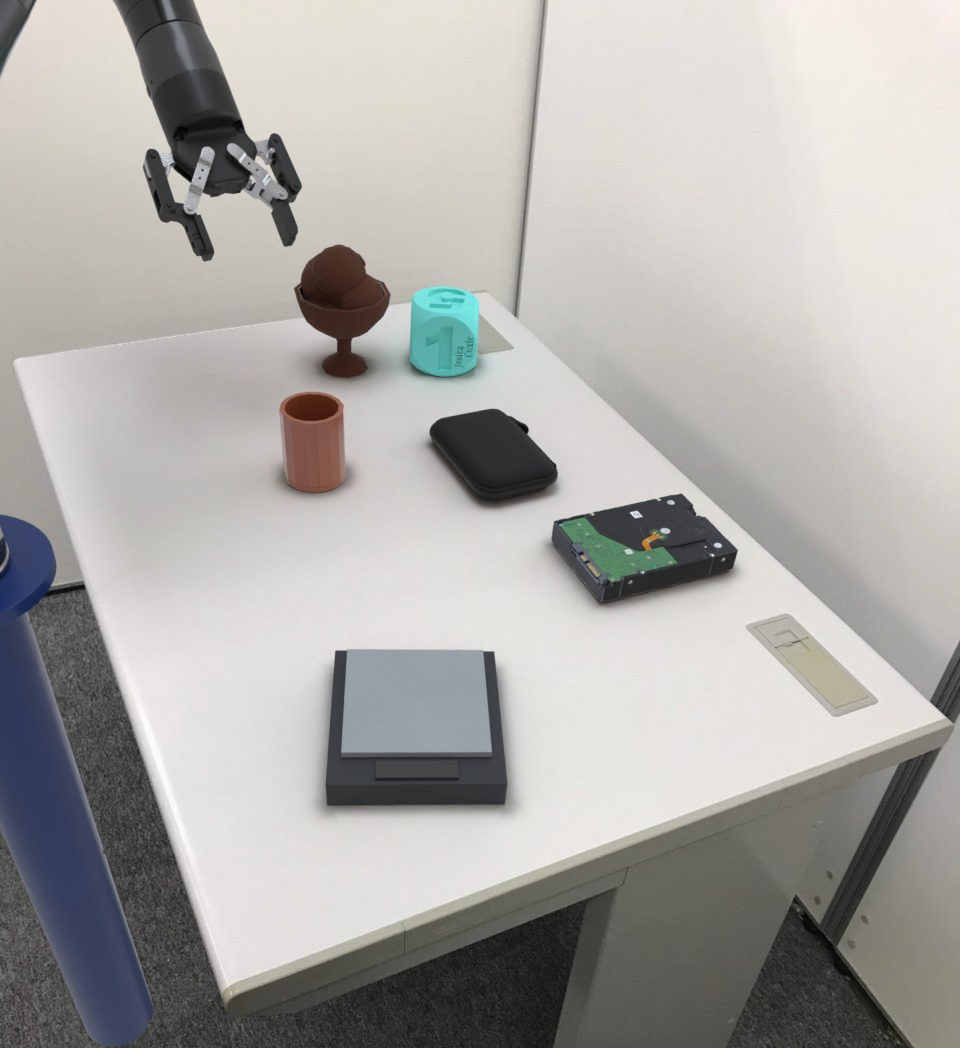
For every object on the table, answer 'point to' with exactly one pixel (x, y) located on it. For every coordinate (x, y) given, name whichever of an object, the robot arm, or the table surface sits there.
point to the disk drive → (642, 547)
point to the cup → (313, 441)
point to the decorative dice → (444, 331)
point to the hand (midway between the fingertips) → (251, 250)
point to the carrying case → (493, 453)
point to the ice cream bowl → (341, 304)
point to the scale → (415, 729)
